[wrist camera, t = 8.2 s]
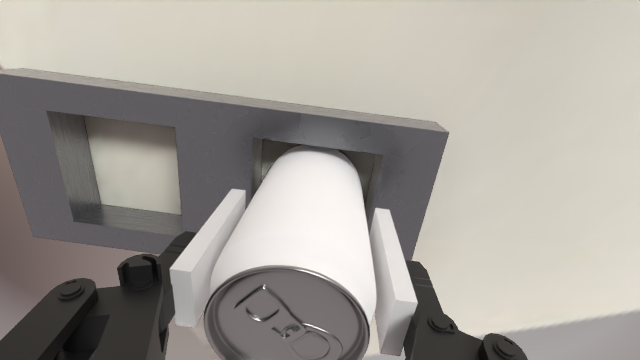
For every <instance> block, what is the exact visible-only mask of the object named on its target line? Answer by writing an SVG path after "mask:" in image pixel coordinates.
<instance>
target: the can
mask: <svg viewBox="0 0 640 360" xmlns="http://www.w3.org/2000/svg"><path fill="white" fill-rule="evenodd" d="M375 308H376V283H375V274H374V267H373V260H372V253H371V247H370V240H369V233H368V227H367V220H366V214H365V207H364V201H363V195H362V189H361V183H360V179H359V175H358V173H357V170H356V168H355V167H354V165H353V164H352V162H351V161H350V160H349V159H348V158H347V157H346V156H345V155H344V154H342V153H341V152H339V151H338V150H336V149H334V148H327V147H320V146H312V145H299V146H296V147H293V148H291V149H289V150H288V151H286V152H284V153H283V154H282V155H281V156H280V157H279V158H278V159H277V160H276V161H275V162H274V164H273V165H272V167H271V168H270V170H269V172H268V173H267V175H266V177H265V178H264V180H263V182H262V183H261V185H260V187H259V188H258V190H257V192H256V193H255V195H254V197H253V198H252V200H251V202H250V204H249V205H248V207H247V209H246V210H245V212H244V214H243V215H242V217H241V219H240V221H239V222H238V224H237V226H236V227H235V229H234V231H233V233H232V234H231V236H230V238H229V240H228V241H227V243H226V245H225V247H224V248H223V250H222V252H221V254H220V256H219V258H218V260H217V262H216V264H215V267H214V269H213V272H212V275H211V281H210V298H209V300H208V302H207V305H206V308H205V312H204V328H205V333H206V336H207V338H208V341H209V343H210V345H211V346H212V348H213V349H214V351H215V352H216V353H217V355H218V356H219V357H220V358H221V359H222V360H362V358H363V356H364V355H365V353H366V350H367V348H368V344H369V339H370V329H369V326H370V323H371V321H372V319H373V316H374V312H375Z"/></svg>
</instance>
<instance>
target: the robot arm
mask: <svg viewBox="0 0 640 360" xmlns="http://www.w3.org/2000/svg"><path fill="white" fill-rule="evenodd" d="M245 201H246V190H239V189H231V191H230V192H229V193H228V194H227V196H226V197H225V198H224V200H223V201H222V202H221V203H220V205H219V206H218V207H217V209H216V210H215V211H214V212H213V214H212V215H211V216H210V218H209V219H208V220H207V221H206V223H205V224H204V225H203V227H202V228H201V229H200V230H199V232H198V233H196V232H188V231H185V232H184V233H182V234H180V235H179V236H177V237H176V238H175V239H174V240H173V241H172V242H171V243H170V245H169V246H168V247H167V248H166V249H165V250H164V252H162V254H161V255H160V256H159V257H157V256H155V255H152V254H141V255H135V256H133V257H130V258H128V259H126V260H125V261H123V262H122V263H121V264H120V265H119V266H118V268H117V270H118V275H119V280H120V285H121V286H117V287H107V288H98V289H96V285H95V282H94V281H92V280H91V279H85V278H80V279H73V280H70V281H67V282H64V283H62V284H60V285H58V286H57V287H55V288H54V289H53V290H51V291H50V292H49V293H48V294H47V295H46V296H45V297H44V298H43V299H42V300H41V301H40V302H39V303H38V304H37V305H36V306H35V307H34V308H33V309H32V310H31V311H30V312H29V313H28V314H27V315H26V316H25V317H24V318H23V319H22V320H21V321H20V322H19V323H18V324H17V325H16V326H15V327H14V328H13V329H12V330H11V331H10V332H9V333H8V334H7V335H6V336H5V337H4V338H3V339H2V340H1V341H0V360H165V355H166V348H167V342H168V336H169V328H168V324H169V323H170V321H171V319H172V318H173V316H175V325H178V326H185V327H193V328H195V327H196V325H197V323H198V321H199V319H200V317H201V315H202V314H203V312H204V310H205V308H206V305H207V302H208V300H209V298H210V281H211V275H212V272H213V269H214V267H215V264H216V262H217V260H218V258H219V256H220V254H221V252H222V250H223V248H224V247H225V245H226V243H227V241H228V240H229V238H230V236H231V234H232V233H233V231H234V229H235V227H236V226H237V224H238V222H239V221H240V219H241V217H242V215H243V214H244V212H245ZM369 240H370V247H371V253H372V260H373V267H374V274H375V283H376V308H375V317H376V325H377V332H378V340H379V348H380V353H381V354H388V355H396V356H400V355H401V352H402V349H403V346H404V351H405V356H406V359H405V360H528V359H527V357H526V355H525V354H524V352H523V351H522V349H521V348H520V347H519V346H518V345H517V344H516V343H515V342H513V341H512V340H510V339H508V338H507V337H505V336H502V335H499V334H493V333H490V334H488V335H485V337H484V339H483V340H480V339H478V338H475V337H473V336H470V335H468V334H465V333H463V332H461V331H459V330H458V328H457V326H456V324H455V323H454V321H453V320H452V319H451V318H450V317H448V316H447V315H445V314H444V313H443V311H442V308H441V306H440V303H439V301H438V298H437V296H436V293H435V290H434V288H433V285H432V283H431V280H430V278H429V275H428V273H427V270H426V269H425V268H424V267H423V266H422V265H421V263H420V262H416V261H409V260H405V259H404V256H403V253H402V250H401V246H400V243H399V240H398V236H397V233H396V230H395V227H394V223H393V220H392V217H391V214H390V210H389V209H381V208H375V212H374V217H373V221H372V226H371V230H370V235H369Z"/></svg>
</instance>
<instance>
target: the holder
mask: <svg viewBox="0 0 640 360" xmlns="http://www.w3.org/2000/svg"><path fill="white" fill-rule="evenodd" d="M83 115H84V116H92V117H100V118H107V119H115V120H122V121H130V122H138V123H145V124H153V125H160V126H168V127H175V134H176V147H177V160H178V172H179V185H180V198H181V210H182V215H176V214H169V213H162V212H154V211H147V210H139V209H132V208H124V207H117V206H110V205H102V204H101V203H100V198H99V193H98V188H97V183H96V178H95V173H94V168H93V163H92V158H91V153H90V148H89V143H88V138H87V133H86V128H85V123H84V118H83ZM0 134H1V137H2V140H3V144H4V147H5V150H6V153H7V156H8V159H9V162H10V165H11V169H12V172H13V175H14V178H15V181H16V184H17V187H18V190H19V193H20V197H21V199H22V203H23V206H24V209H25V212H26V215H27V218H28V222H29V225H30V228H31V231H32V234H33V237H38V238H45V239H52V240H60V241H67V242H74V243H82V244H89V245H96V246H104V247H111V248H118V249H126V250H133V251H140V252H148V253H155V254H162V252H164V250H165V249H166V248H167V247H168V246H169V245H170V243H171V242H172V241H173V240H174V239H175V238H176V237H177V236H179V235H180V234H182V233H184V232H185V231H188V232H196V233H198V232H199V230H200V229H201V228H202V227H203V225H204V224H205V223H206V221H207V220H208V219H209V218H210V216H211V215H212V214H213V212H214V211H215V210H216V209H217V207H218V206H219V205H220V203H221V202H222V201H223V200H224V198H225V197H226V196H227V194H228V193H229V192H230V191H231V189H239V190H246V201H245V210H246V209H247V207H248V205H249V204H250V202H251V200H252V198H253V197H254V195H255V193H256V192H257V190H258V188H259V187H260V185H261V166H262V142H263V139H267V140H274V141H282V142H289V143H297V144H304V145H312V146H320V147H327V148H335V149H342V150H350V151H358V152H365V153H373V154H376V156H375V161H374V166H373V171H372V176H371V181H370V186H369V191H368V196H367V201H366V205H365V214H366V220H367V227H368V233H369V235H370V230H371V226H372V221H373V217H374V212H375V208H381V209H389V210H390V214H391V217H392V220H393V223H394V227H395V230H396V233H397V236H398V240H399V243H400V246H401V250H402V253H403V256H404V259H405V260H409V261H411V259H412V256H413V252H414V249H415V246H416V242H417V239H418V236H419V232H420V229H421V226H422V222H423V219H424V216H425V212H426V209H427V206H428V202H429V199H430V195H431V192H432V189H433V185H434V182H435V179H436V175H437V172H438V169H439V165H440V162H441V159H442V155H443V152H444V148H445V145H446V142H447V138H448V135H449V132H448V131H447V130H445V129H444V128H443V127H441V126H440V125H439V124H438V123H436V122H430V121H422V120H415V119H407V118H399V117H392V116H384V115H376V114H369V113H361V112H354V111H346V110H338V109H331V108H323V107H315V106H308V105H300V104H292V103H285V102H277V101H269V100H262V99H254V98H246V97H239V96H231V95H223V94H216V93H208V92H200V91H193V90H185V89H177V88H170V87H162V86H154V85H147V84H139V83H131V82H124V81H116V80H108V79H101V78H93V77H85V76H78V75H70V74H62V73H55V72H47V71H39V70H32V69H7V70H0Z"/></svg>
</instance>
